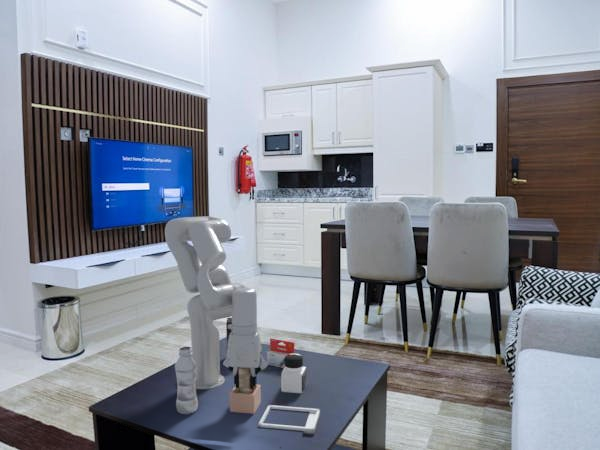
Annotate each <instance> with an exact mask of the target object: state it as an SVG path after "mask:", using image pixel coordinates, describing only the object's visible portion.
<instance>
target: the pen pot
mask: <svg viewBox="0 0 600 450" xmlns="http://www.w3.org/2000/svg"><path fill="white" fill-rule="evenodd" d="M261 388H262V387H261V384H256V386H255V387H254V388H253V389H252V394H247V393H239V388H236V385H235V386H234V387H233V388H232V389H231V391H230V392H229V412H230V413H241V414H243V413H244V414H252V415H253V414H256V412H257V410H258V408H259V407H260V404H261V403H262V397H261V396H262V392H261V391H262V389H261Z"/></svg>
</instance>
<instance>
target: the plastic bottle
mask: <svg viewBox="0 0 600 450" xmlns="http://www.w3.org/2000/svg"><path fill="white" fill-rule="evenodd" d="M178 356H179V357H178V358H177V360H176V361H175V364H174V370H175V377H176V383H177V384H176V385H177V386H176V387H177V390H176V391H177V393H176V395H177V396H176V400H175V408H176V411H177V413H179V414H180V415H191V414H193V413H195V412H196V411H197V410H198V408H199V400H198V395H197V389H196V387H195V381H196V368H197V364H196V361H195V360H194V358H193V357H192V346H181V347H179V352H178Z"/></svg>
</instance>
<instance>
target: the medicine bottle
mask: <svg viewBox="0 0 600 450" xmlns="http://www.w3.org/2000/svg"><path fill="white" fill-rule="evenodd" d="M280 375H281V376H280V377H281V379H280V381H281V382H280V383H281V384H280V385H281V386H280V388H281V389H280V390H281V391H280V392H283V393H292V394H293V393H295V394H303V393H304V391H305V388H306V386H307V367H306V366H304V357H303V355H301V354H299V353H294V354H289V355H286V356H285V368H283V369H282V371H281V373H280Z"/></svg>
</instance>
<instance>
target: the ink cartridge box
mask: <svg viewBox="0 0 600 450" xmlns="http://www.w3.org/2000/svg"><path fill="white" fill-rule="evenodd" d="M280 343H282V344H284V345H282V344H280ZM289 354H295V342H292V341H286V340H281V339H276V338H269V350H268V351H266V363H267V366H273V367H278V368H282V369H284V368H285V356H286V355H289Z"/></svg>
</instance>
